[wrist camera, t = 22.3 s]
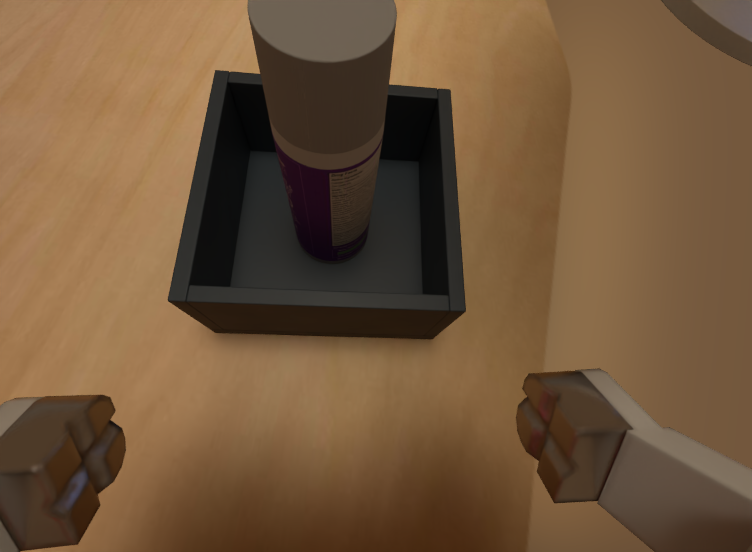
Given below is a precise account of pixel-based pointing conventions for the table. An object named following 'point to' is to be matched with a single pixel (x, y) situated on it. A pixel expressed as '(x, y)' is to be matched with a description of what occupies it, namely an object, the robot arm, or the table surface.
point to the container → (326, 111)
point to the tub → (279, 239)
